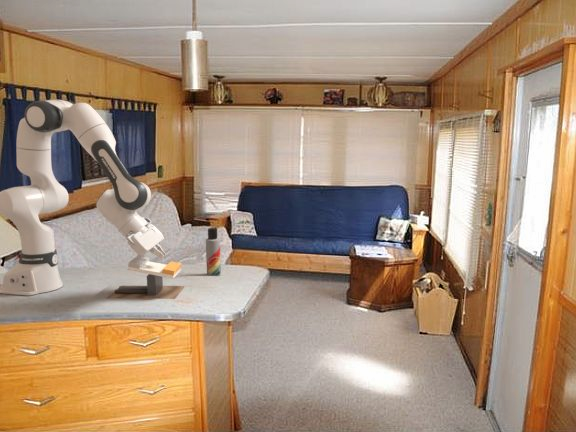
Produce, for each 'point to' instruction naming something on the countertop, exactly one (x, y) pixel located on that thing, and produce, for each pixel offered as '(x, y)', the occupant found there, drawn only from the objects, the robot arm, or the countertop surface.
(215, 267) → the lotion bottle
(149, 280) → the block
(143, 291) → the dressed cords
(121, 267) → the countertop surface
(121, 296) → the mounting board
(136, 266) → the block
